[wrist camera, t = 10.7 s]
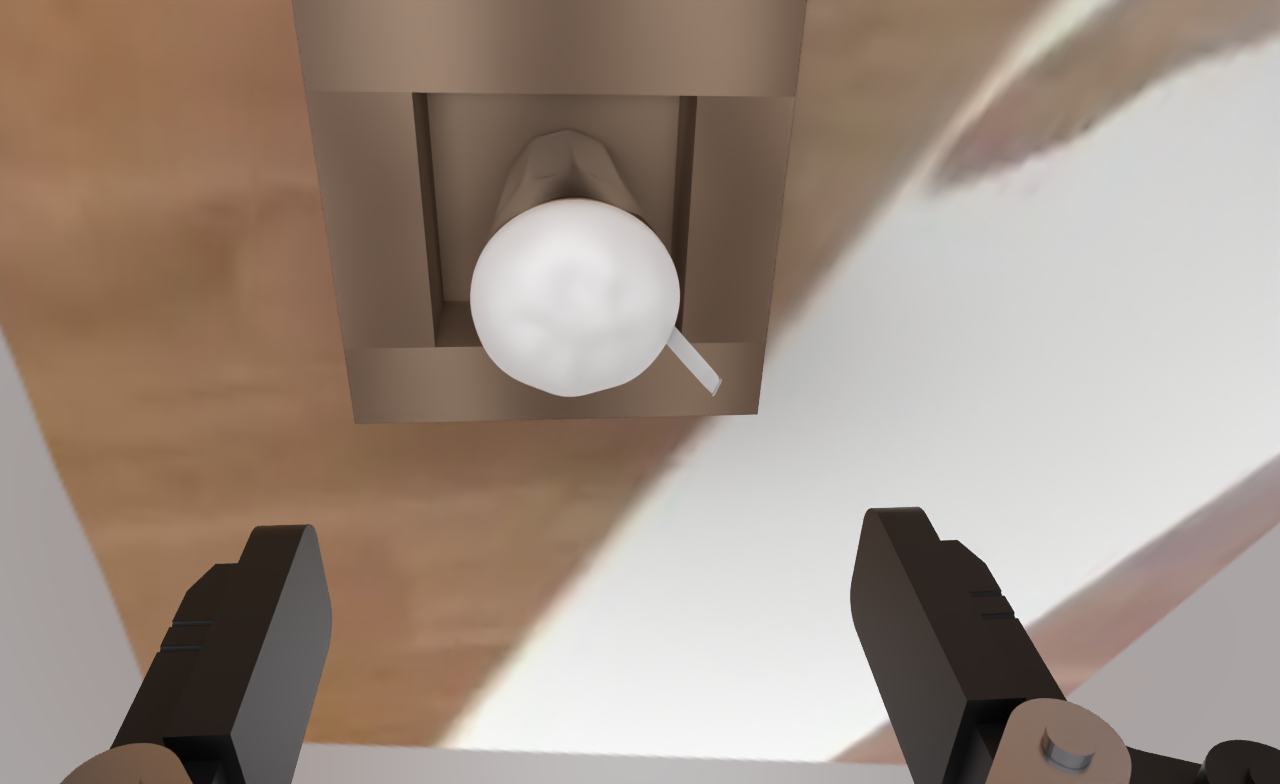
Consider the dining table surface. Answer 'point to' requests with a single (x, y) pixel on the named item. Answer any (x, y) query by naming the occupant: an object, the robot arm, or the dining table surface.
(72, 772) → the robot arm
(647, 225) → the milkshake
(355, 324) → the socket block
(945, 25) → the dining table surface
